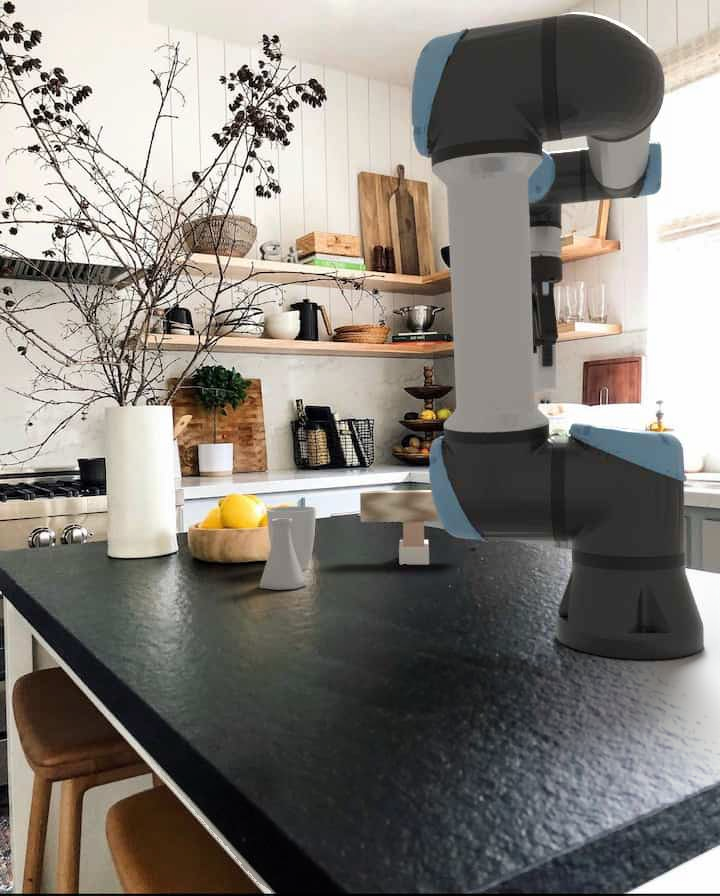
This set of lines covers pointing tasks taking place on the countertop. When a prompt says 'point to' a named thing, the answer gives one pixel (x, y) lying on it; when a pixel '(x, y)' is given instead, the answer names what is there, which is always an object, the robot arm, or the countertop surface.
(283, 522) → the flask
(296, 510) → the cup
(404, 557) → the block
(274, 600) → the countertop surface
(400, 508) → the bar
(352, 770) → the countertop surface
